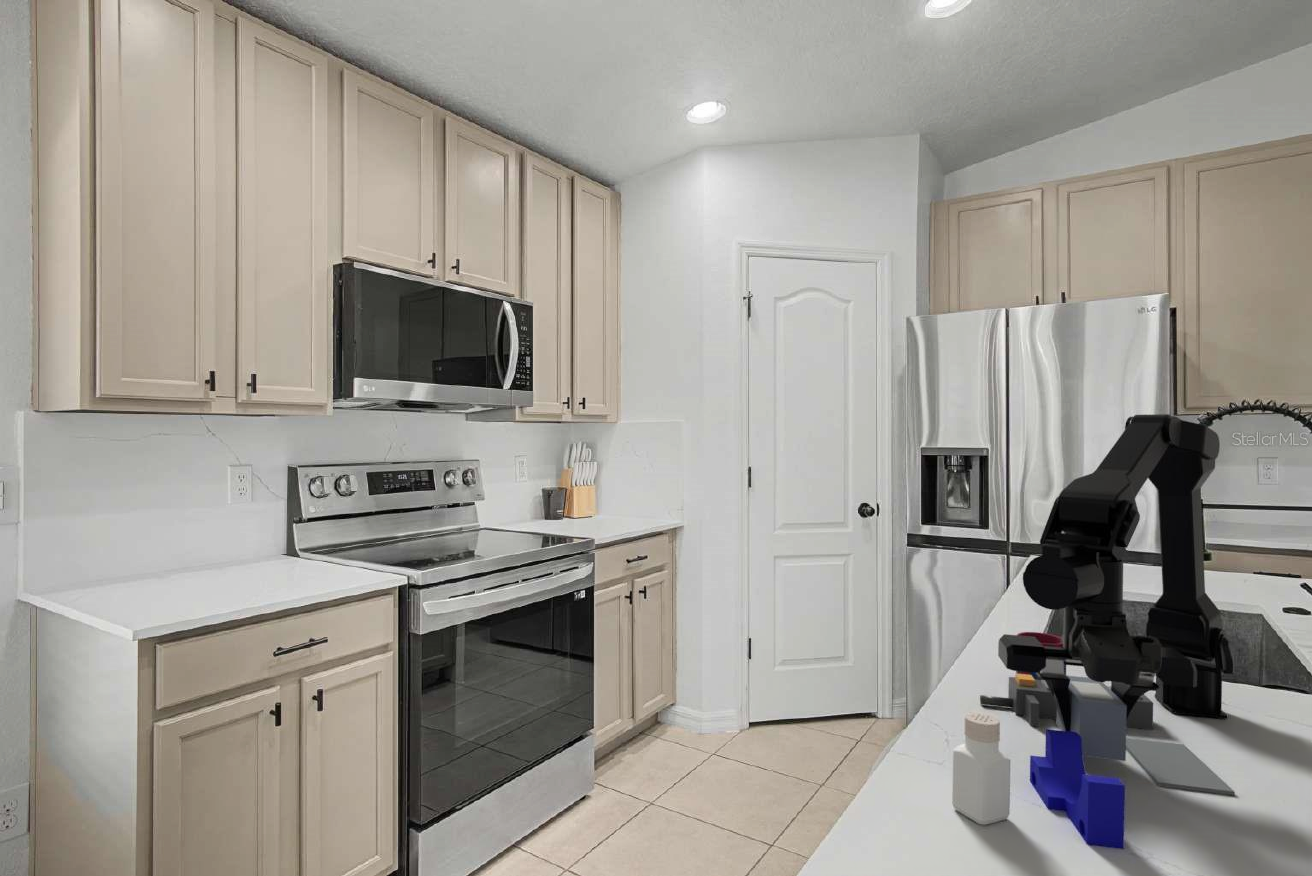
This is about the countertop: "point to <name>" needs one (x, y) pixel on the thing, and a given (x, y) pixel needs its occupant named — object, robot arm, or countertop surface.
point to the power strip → (1038, 702)
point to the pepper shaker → (981, 772)
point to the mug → (1045, 641)
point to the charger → (1097, 719)
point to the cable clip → (1079, 790)
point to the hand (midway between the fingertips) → (1090, 733)
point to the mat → (1175, 766)
